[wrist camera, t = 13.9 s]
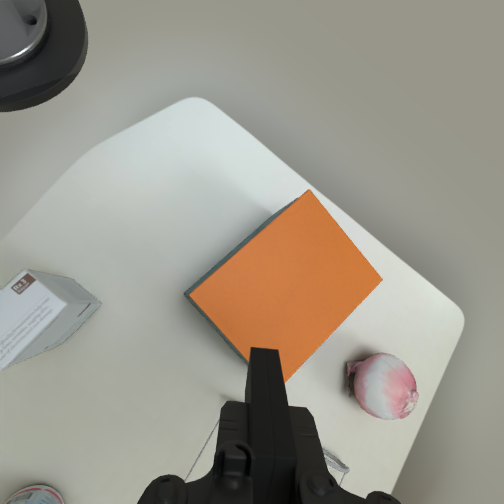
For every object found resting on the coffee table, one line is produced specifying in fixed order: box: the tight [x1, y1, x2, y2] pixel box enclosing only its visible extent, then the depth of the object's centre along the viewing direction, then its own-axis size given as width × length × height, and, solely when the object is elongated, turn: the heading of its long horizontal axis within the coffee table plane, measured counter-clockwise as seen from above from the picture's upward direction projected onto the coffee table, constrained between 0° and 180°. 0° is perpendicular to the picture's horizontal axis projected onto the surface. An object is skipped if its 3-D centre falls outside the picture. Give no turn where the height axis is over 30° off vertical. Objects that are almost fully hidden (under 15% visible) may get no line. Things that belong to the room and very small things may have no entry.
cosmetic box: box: [0, 269, 101, 370], centre depth 27 cm, size 6×4×12 cm
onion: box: [347, 353, 419, 420], centre depth 38 cm, size 8×8×7 cm
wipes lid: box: [189, 189, 383, 383], centre depth 30 cm, size 16×13×1 cm
